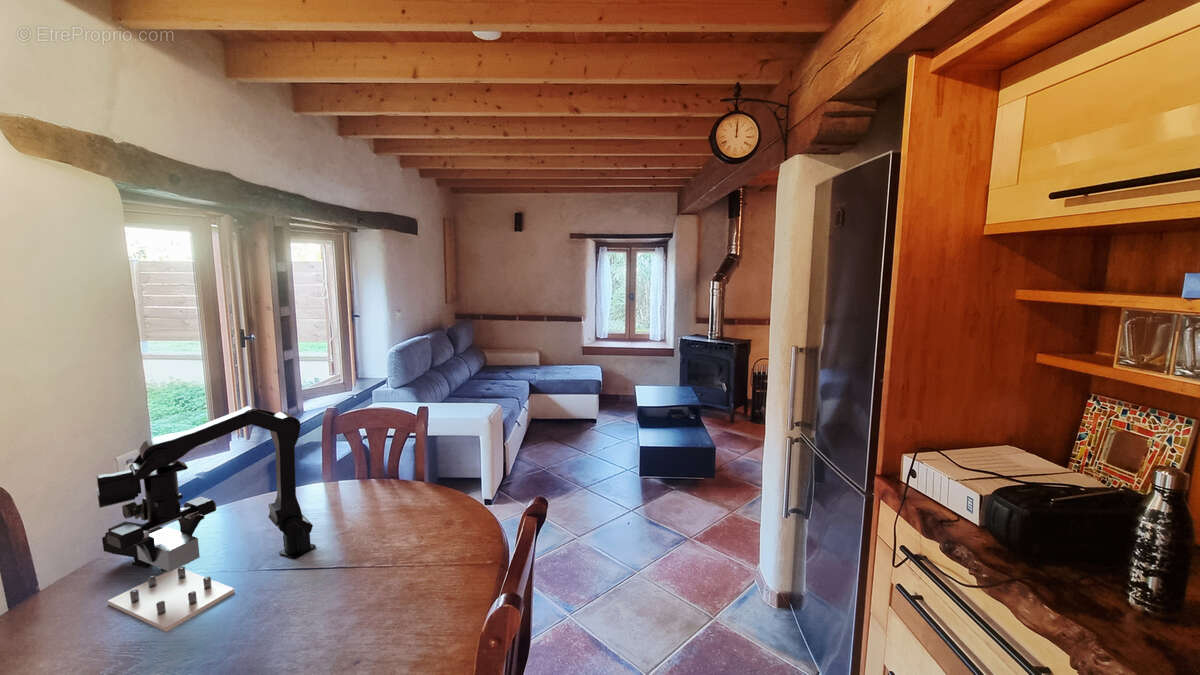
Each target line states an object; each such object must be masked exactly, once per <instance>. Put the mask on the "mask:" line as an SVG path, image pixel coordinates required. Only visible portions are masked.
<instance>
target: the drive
mask: <svg viewBox="0 0 1200 675" xmlns="http://www.w3.org/2000/svg"><path fill="white" fill-rule="evenodd" d="M149 536H151V537H153V538H154V542H155V562H153V563H152V562H150V561H149V559H148V558H147V557H146V555H145V554H144V552H143V551H142V550H141V548H140V547H139V546H137V552H138V559H139V560H142V561H144V562H146V563H149V564H151V566H154V567H157V568H159V569H160V568H161V569H164V570H166V571H168V572H171V571H173V570H175V569H177V568H179V567H184V566H185V565H187V564H190V563H192V562H193V561H195V560H197V559H200V557H201V556H200V548H199V547H200V546H199V539H198V537H196V536H194V535H192V536H191V535H188V534H185V533H182V532H180V531H179V530H177V529H174V528H171V527H168V526H166V527H163V529H160V530H158V531H155V532H153V533H150V534H149Z"/></svg>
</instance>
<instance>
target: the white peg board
mask: <svg viewBox="0 0 1200 675" xmlns="http://www.w3.org/2000/svg"><path fill="white" fill-rule="evenodd" d="M185 567H186V566H181V567H179V568H177V569H175V570H173V571H171V572H163V573H162V574H159V575H158V576H157V575H156V574H152V575H150V576H148V577H147V581H145V582H143V583H140V584H139V585H137V586H135V587H133V588H131V589H129V590H127V591H125V592H123V593H121V594H119V595H118V594H117V595H116V596H115V597H112V598H110V599H108V600H107V605H109V606H110V607H113V608H115V609H116V610H119V611H122V612H123V613H125V614H128V615H130V616H132V617H134V618H135V619H138V620H140V621H142V622H145V623H146V624H149V625H151V626H152V627H155V628H157V629H159V630H160V631H164V632H166V633H167V632H169V631H171V630H172V629H174V628H175V627H178V626H179V625H181V624H182V623H185V622H186V621H187V620H190V619H191V618H193V617H195V616H196V615H198V614H200V613H201V612H203V611H205V610H206V609H209V608H210V607H212V606H214V605H215V604H217V603H218V602H220V601H222V600H224V599H225V598H227V597H229V596H231V595H233V594H235V588H234V587H231V586H229V585H226V584H224V583H221V582H220V581H219V582H218V581H216V580H214V579H211V577H212V576H203V575H201V574H198V573H196V572H193V571H190V570H187V569H186V568H185Z"/></svg>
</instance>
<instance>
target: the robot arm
mask: <svg viewBox="0 0 1200 675" xmlns="http://www.w3.org/2000/svg"><path fill="white" fill-rule="evenodd" d="M250 425H251V426H256V427H259V428H261V429H265V430H267V431H269V433H270V437H271V439H272V442H273V444H274V447H275V474H276V475H275V476H276V498H275V500H274V502H272V503H268V508H269V514H268V519H269V520H270V521H271V522H272V523H273V525H275V527H276V528H277V529H278V530H279V531H280V532H282V534H283V535H282V539H283V549H282V550H280V551H279V553H278V554H279V555H280V556H284V557H287V558H290V559H293V560H296V559H298V558H300V557H302V556H303V555H305V554H307V553H308V552H310V551H312V550H313V549H316V547H317V546H316V544H314V543H311V532H312V530H313V526H314V525H313V524H312V522H310V520H308V518H307V517H305V515H304V514H303V513H302V510H301V505H300V504H299V501H298V498H297V491H296V489H297V488H296V487H297V483H296V482H297V480H296V479H297V478H296V451H295V450H296V449H295V448H296V445H297V443H298V440H299V437H300V434H301V433H300V432H301V427H302V426H301V422H300V420H299V419H297V417H295V416H293V415H292V414H291V413H288V412H286V411H279V412H277V413H276V412H275V411H274V412H273V411H270V410H266V409H262V408H261V409H260V408H256V407H255V406H253V405H251V406H250V405H247V406H244V407H242V408H240V409H239V410H236V411H234V412H231V413H228V414H226V415H224V416H221V417H218V418H215V419H213V420H211V421H209V422H206V423H203V424H201V425H197V426H195V427H192V428H190V429H186V430H183V431H175V432H169V433H164V434H161V435H158V436H157V435H156V436H153V437H150V438H148V439H146V440H145V441H144V442H142V444H141V446H140V447H139V454H138V455H137V457H136V458H135V459H134V460H133V462H132V463H131V464H130V466H129V469H127V470H122V471H118V472H114V473H113V472H112V473H104V474H99V475H97V476H96V480H97V482H96V483H97V487H96V494H97V495H96V496H97V501H98V507H99V508H105V507H108V506H113V505H117V504H121V503H126V502H129V501H133V500H136V498H137V497H138V498H139V495H140V494H142V487H141V486H142V485H141V484H142V483H141V481H142V480H143V485H144V486H143V488H144V495H145V496H144V497H142V499H141V502H140V503H136V501H133V502H129V503H126V504H123V505H122V507H121V509H122V515H123V518H124V519H129V518H133V517H134V519H135V520H137V519H139V518H140V519H141V521H147V522H145V523H143V524H142V523H141V524H142V525H140V526H135V525H132V524H127V525H124V526H122V527H119V528H116V529H114V530H111V531H110V532H109V531H108V532H109V534H108V535H107V543H108V544H110V545H113V546H115V547H118V548H120V549H123V548H127V547H129V546H132V545H136V546H139V547H140V548H141V550H142V551H143V552H144V554H145V555H146V557H147V558H148V559H149V561H150V562H152V563H153V562H155V542H154V538H153V537H151V536H149V531H150V530H153V529H155V528H158V527H163V526H164V525H167V524H170V523H172V522H174V521H178V524H179V528H180V531H179V532H182V533H185V534H188V535H191V536H194V533H195V531H196V529H197V527H198V526H199V525H200V523H201V521H202V520H204V519H205V516H208V515H209V514H212V513H214V512H216V511H217V503H216V501H215V500H214V499H212V498H211V499H210V498H208V497H204V496H199V497H196V498H193V499H191V500H187V501H185V503H184V504H183V507H182V508H181V499H183V497H184V496H183V493H182V492H181V493H180V488H179V481H178V472H181V471H186V470H188V468H189V467H188V466H187V464H186V462H183V461H180V460H179V459H181V458H182V457H184V456H186V455H187V454H188V453H189V452H190V451H192V450H193V449H195V448H197V447H200V446H202V445H204V444H207V443H209V442H212V441H215V440H217V439H219V438H221V437H224V436H227V435H228V434H232V433H233V432H235V431H238V430H240V429H243V428H245V427H247V426H250Z"/></svg>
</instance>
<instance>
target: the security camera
mask: <svg viewBox="0 0 1200 675" xmlns="http://www.w3.org/2000/svg"><path fill="white" fill-rule="evenodd" d="M127 524H132V525H135V526H140V525H142V523H137V522H131V521H122V522H121V523H118V524H116V525H114V526H112V527H110V528H108V531H107V532H105V533H104V536H103V537H101V539H102V540H101V542H102V548H103V552H105V553H108V554H109V553H110V554H112V555H119V556H123V557H130V558H133V562H132V563H131V566H133V567H139V568H145V569H147V568H149V567H151V566H152V565H151V564H149V563H146V562H144V561H142V560H139V559H138V552H137V546H136V545H132V546H129V547H127V548H123V549H120V548H118V547H115V546H113V545H110V544H108V543H107V535H108V534H109V532H110V531H111V530H114V529H116V528H119V527H122V526H124V525H127ZM163 528H164V527H163V526H160V527H158V528H155V529H153V530H150V531H149V534H150V533H153V532H155V531H158V530H160V529H163ZM159 569H160V571H161V572H164V573H166V572H168V571H166V570H164V569H161V568H159Z"/></svg>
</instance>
